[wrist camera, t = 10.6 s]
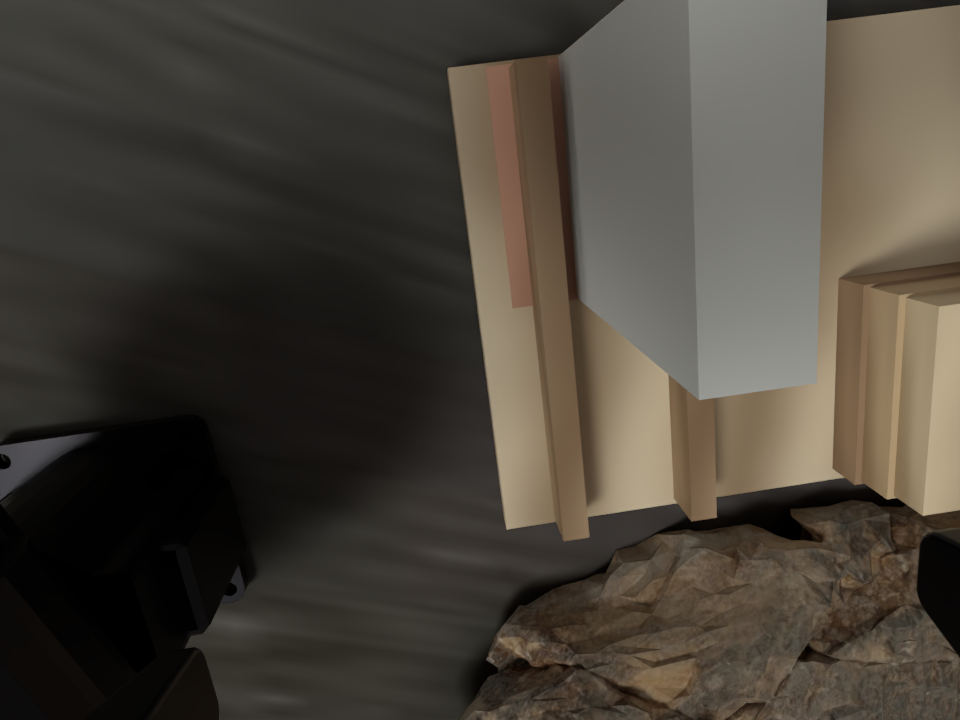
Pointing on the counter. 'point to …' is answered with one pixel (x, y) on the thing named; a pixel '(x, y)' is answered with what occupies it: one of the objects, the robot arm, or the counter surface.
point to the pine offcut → (930, 405)
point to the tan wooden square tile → (861, 359)
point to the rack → (619, 364)
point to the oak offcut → (888, 376)
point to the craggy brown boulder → (737, 629)
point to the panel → (701, 185)
